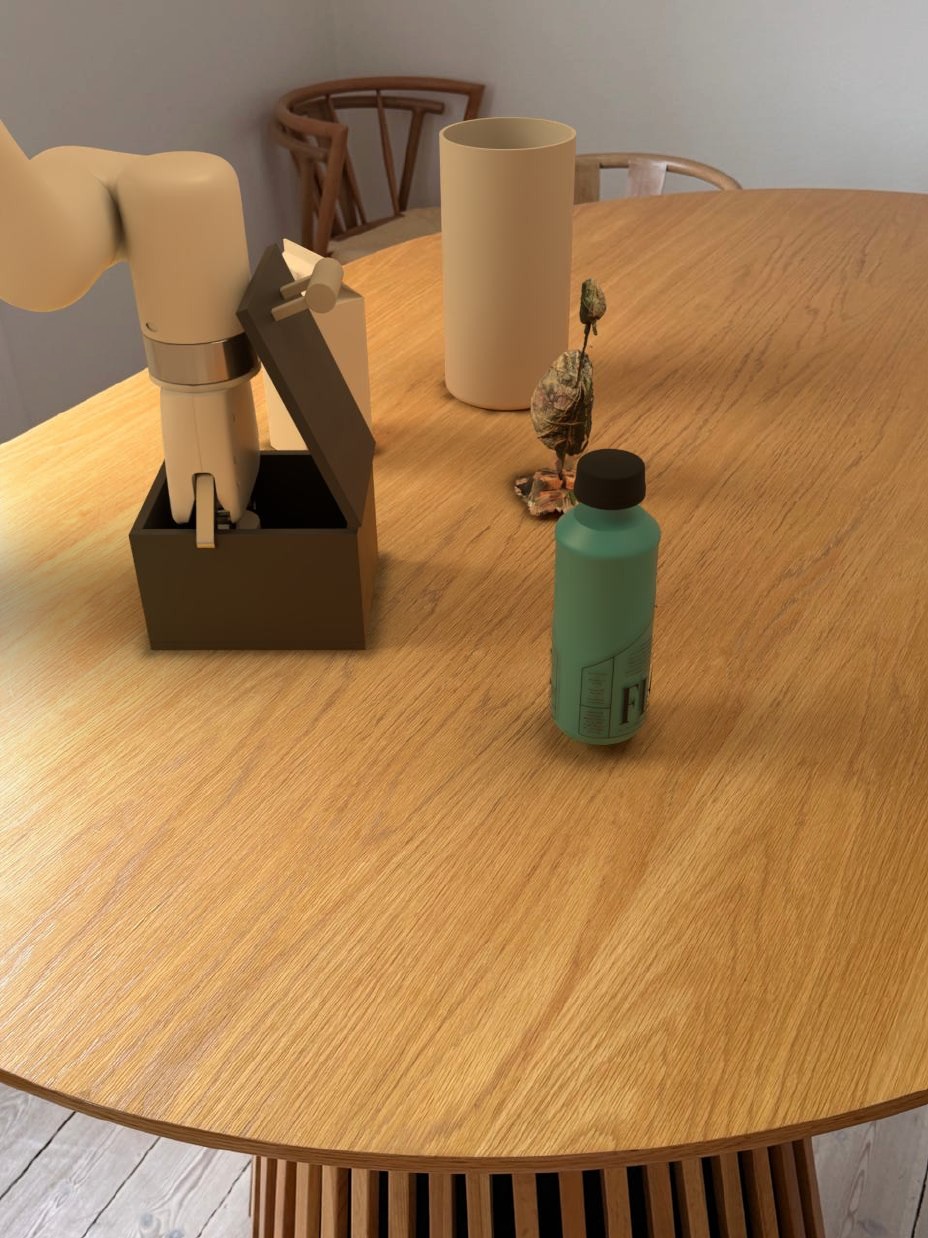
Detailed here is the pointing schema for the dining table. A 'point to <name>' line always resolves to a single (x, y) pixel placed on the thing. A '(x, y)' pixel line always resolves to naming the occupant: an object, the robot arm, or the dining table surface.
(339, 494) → the lid
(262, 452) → the dark hinged wooden chest
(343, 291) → the milk carton
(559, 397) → the plant with pod
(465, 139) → the cylinder vase
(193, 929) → the dining table surface
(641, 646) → the beverage bottle
